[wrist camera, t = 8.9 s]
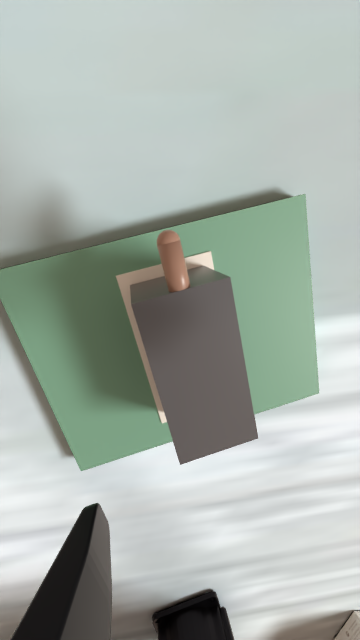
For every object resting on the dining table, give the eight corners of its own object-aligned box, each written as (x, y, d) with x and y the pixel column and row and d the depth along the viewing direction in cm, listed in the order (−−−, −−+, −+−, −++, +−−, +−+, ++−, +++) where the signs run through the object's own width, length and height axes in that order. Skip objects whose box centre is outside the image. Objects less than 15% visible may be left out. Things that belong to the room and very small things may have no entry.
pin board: (83, 457, 20) (72, 514, 16) (-2, 269, 15) (-48, 282, 11) (309, 384, 22) (350, 419, 18) (293, 196, 17) (344, 185, 13)
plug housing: (168, 412, 19) (180, 464, 14) (116, 240, 15) (112, 243, 11) (229, 392, 19) (258, 438, 15) (194, 221, 15) (220, 216, 11)
